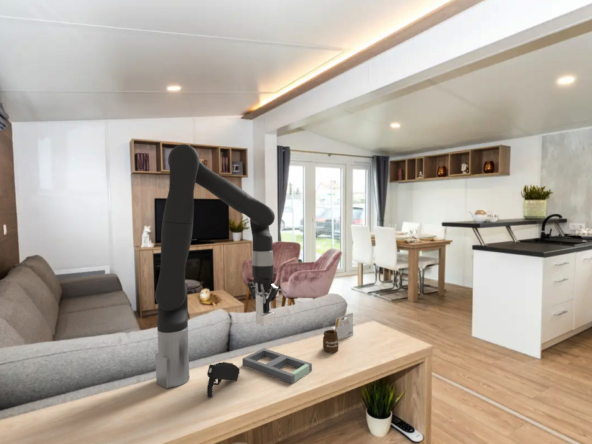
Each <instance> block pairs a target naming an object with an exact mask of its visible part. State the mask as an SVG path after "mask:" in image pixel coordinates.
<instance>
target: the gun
mask: <svg viewBox="0 0 592 444" xmlns="http://www.w3.org/2000/svg"><path fill="white" fill-rule="evenodd" d="M239 374H240V367H238V366H237V365H236V364H234V363H233V362H226V361H222V362H218V363H214V364H209V365H208V369H207V378H209V379H208V382H207V387H206V388H207V389H206V395H207V398H210V399H212V398H214V397H213V387H214V386H219V385H220V384H221V382H222V381H233V382H237V381H238V380H239V379H238V378H239V376H240V375H239Z"/></svg>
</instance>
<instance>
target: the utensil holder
mask: <svg viewBox="0 0 592 444" xmlns="http://www.w3.org/2000/svg"><path fill="white" fill-rule="evenodd" d="M336 318H337V319H338V317H336ZM335 320H336V319H335ZM338 322H339V319H338V320H336V324H334V325H335V326H336V328H337V327H338ZM326 325H327V326H326ZM335 326H334V327H335ZM329 327H330V325H329V323H328V322H326V321H325V322H324V321H323V326H322V329H323V330H324V331H323V337H322V349H323V351H324V352H326V353H331V354H332V353H336V352H338V351H339V340H338V337H337V332H336V328H335V330H332V329H328V328H329ZM326 328H327V329H326Z"/></svg>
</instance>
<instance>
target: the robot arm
mask: <svg viewBox="0 0 592 444" xmlns="http://www.w3.org/2000/svg"><path fill="white" fill-rule="evenodd" d="M167 165H168V167H169V187H168V194H167V197H166V201H165V205H164V210H163V214H162V222H161V223H162V224H161V232H160V233H161V236H160V268H159V269H160V270H159V275H158V280H157V283H156V287H155V288H156V289H155V293H154V299H155V301H156V304H157V321H156V324H157V325H156V326H157V327H156V328H157V329H156V330H157V353H156V354H155V378H156V380H155V381H156V384H158V385H159V386H161V387H163V388H165V389H170V388H173V387H174V388H176V387H180V386H182V385H184V384H186V383H187V382H188V381H189V380H190V360H189V359H190V358H189V357H190V356H189V355H190V354H189V327H188V324H189V323H188V321H189V317H188V316H189V308H188V307H189V304H188V302H189V300H188V298H189V297H188V287H187V284H186V265H187V261H188V257H189V252H190V248H191V244H192V237H193V231H194V230H193V228H194V213H195V212H194V211H195V210H194V209H195V197H194V196H195V195H194V193H195V186H196V184H197V185H199V186H200V187H202V188H204V189H205V190H206V191H208V192H209V193H211V194H213V195H214V196H215V197H217V198H218V199H219V200H220V201H221V202H223V203H224V204H226V205H227V206H229V207H230V208H231V209H233V210H235V211H236V212H238V213H240V214H243V215H244V216H246V217H247V218H249V222H250V223H249V224H250V230H251V236H252V237H251V238H252V240H251V241H252V254H251V276H252V278H253V279H252V282H249V283H247V286H248V290H249V292H250V294H251V297H252V299H253V300H256V295H258V296H261V297H263V302H264V303H263V313H264V314H266V313H268V312H269V310H270V309H269V303H270V302H274V301H275V299H276V297H277V295H278V292H279V291H280V287H279V286H276V285H275V284H274V280H273V278H274V276H275V273H274V272H275V271H274V270H275V269H274V268H275V265H274V251H273V250H274V248H273V247H274V246H273V243H274V242H273V236H272V235H271V233H270V226H271V225H273V224H274V221H275V219H276V217H275V212H274V211H273V209H272V208H271V207H269V206H268V205H266V204H265V203H264V202H262V201H260V200H259V199H258V198H257V199H256V198H255V197H253V196H251V195H250V194H249V193H248V192H247V191H245V190H243V189H242V188H241V187H240V186H238V185H237V184H235V183H233V182H231V181H229V179H226V178H225V177H223V176H222V175H219V174H217V173H216V172H214V171H213V170H211V169H210V168H208V167H207V165H205V164H204V163H203V162H201V159H200V155H199V153H198V151H197V150H196V148H194V147H193V146H191V145H190V144H187V143H186V144H184V143H181V144H177V145H176V146H174V147H173V148H172V149H171V151H170V152H169V154H168V157H167Z"/></svg>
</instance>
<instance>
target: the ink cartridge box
mask: <svg viewBox="0 0 592 444" xmlns="http://www.w3.org/2000/svg"><path fill="white" fill-rule="evenodd" d="M337 318H338V319H339V322H338V327H337V328H336V326H333V327H331V330H335V328H336V332H337V337H338V341H340V340H343V339H346V338H347V337H351V336H353V335H354V323H353V322H354V321H353V320H354V313H353V312H350V313H348V314H347V313H346V314H345V315H341V316H339V317H335V321H334V323H335V324H336V320H338V319H337ZM344 318H345V319H344ZM335 324H334V325H335Z"/></svg>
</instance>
